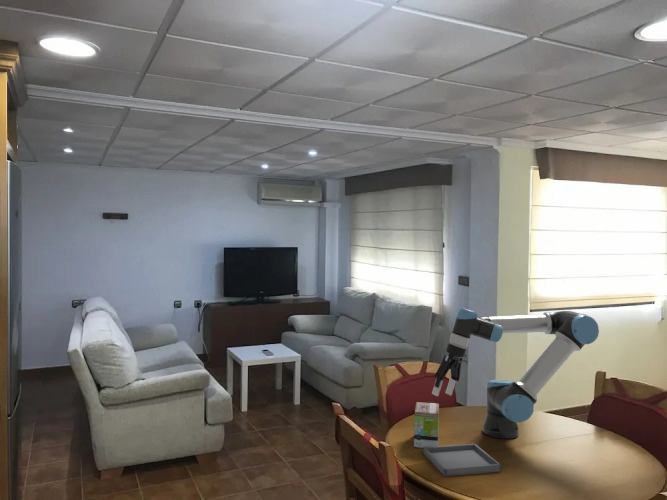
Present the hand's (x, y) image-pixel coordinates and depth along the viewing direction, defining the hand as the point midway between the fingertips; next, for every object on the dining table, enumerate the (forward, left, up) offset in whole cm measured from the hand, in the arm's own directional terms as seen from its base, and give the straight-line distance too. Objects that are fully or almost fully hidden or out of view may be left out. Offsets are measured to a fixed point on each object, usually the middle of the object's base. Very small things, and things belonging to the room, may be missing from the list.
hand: (441, 394), depth 221 cm
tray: (-1, +17, -21) cm, 27 cm away
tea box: (+4, -5, -21) cm, 23 cm away
